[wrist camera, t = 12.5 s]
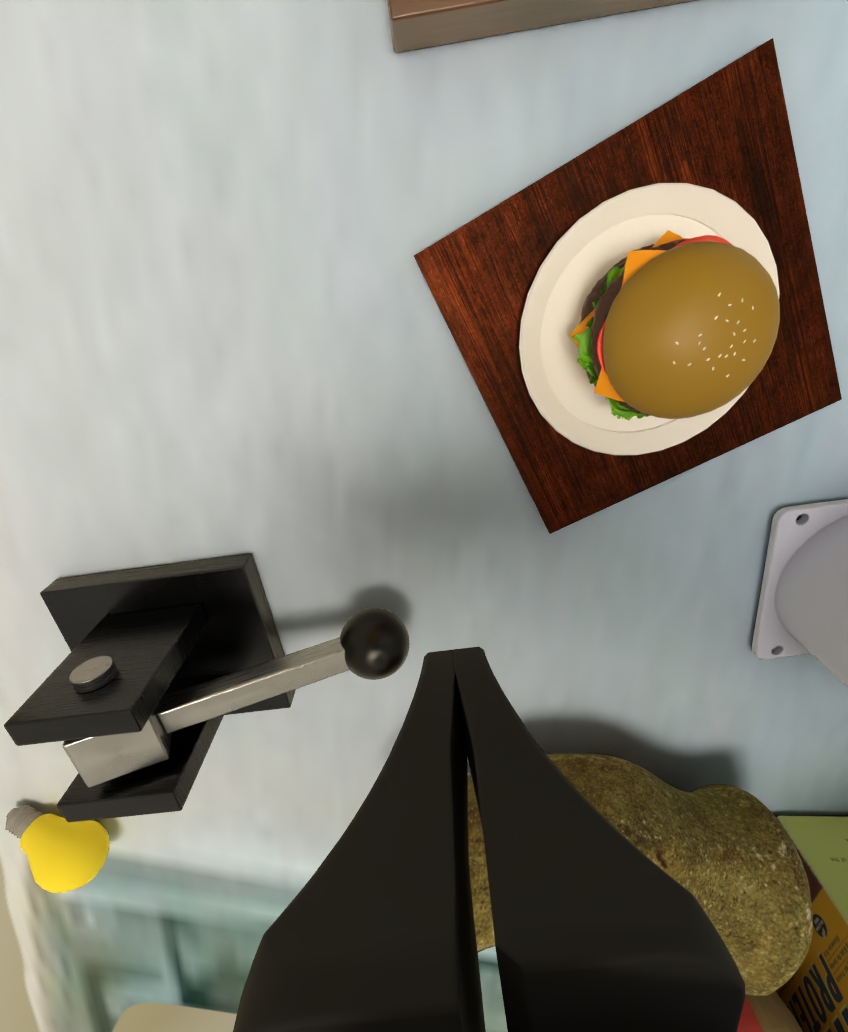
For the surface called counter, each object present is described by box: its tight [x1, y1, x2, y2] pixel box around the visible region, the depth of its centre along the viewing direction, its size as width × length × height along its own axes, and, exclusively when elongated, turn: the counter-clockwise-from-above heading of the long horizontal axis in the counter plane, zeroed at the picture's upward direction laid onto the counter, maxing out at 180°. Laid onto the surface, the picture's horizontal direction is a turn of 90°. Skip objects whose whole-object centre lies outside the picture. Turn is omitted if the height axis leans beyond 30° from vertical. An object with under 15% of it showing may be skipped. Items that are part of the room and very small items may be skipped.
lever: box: [63, 608, 409, 788], centre depth 21 cm, size 13×3×3 cm, turn 99°
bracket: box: [4, 554, 295, 822], centre depth 21 cm, size 9×8×7 cm
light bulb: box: [5, 805, 109, 893], centre depth 29 cm, size 3×6×4 cm
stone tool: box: [468, 754, 813, 996], centre depth 25 cm, size 20×9×10 cm
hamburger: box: [414, 38, 842, 534], centre depth 16 cm, size 12×12×6 cm
